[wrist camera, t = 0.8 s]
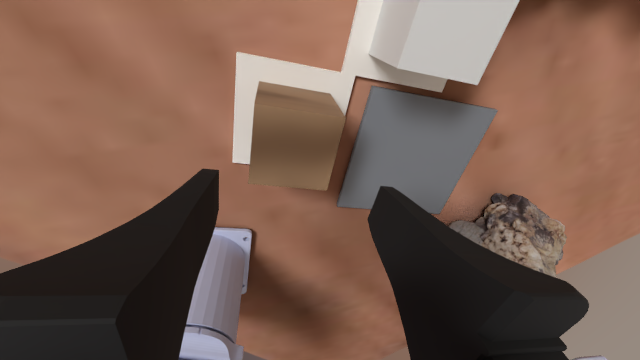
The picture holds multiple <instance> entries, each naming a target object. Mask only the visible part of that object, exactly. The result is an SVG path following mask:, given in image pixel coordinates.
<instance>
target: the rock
mask: <svg viewBox="0 0 640 360" xmlns="http://www.w3.org/2000/svg"><path fill="white" fill-rule="evenodd" d="M491 199H492V201H493V204H491V205H489V206H488V207H487V208H486V209H485V212H484V217H480V218H479V219H478V220H477V221H476V223H473V222H469V221H464V220H460V221H455V222H452V223H451V224H449V225H448V227H450V228H451V229H453V230H455V231H456V232H458V233H460V234H461V235H463V236H465V237H466V238H468V239H470V240H472V241H473V242H475V243H477V244H479V245H481V246H483V247H485V248H487V249H489V250H491V251H493V252H495V253H497V254H499V255H501V256H503V257H505V258H507V259H510V260H512V261H514V262H517V263H519V264H521V265H524V266H526V267H528V268H531V269H533V270H536V271H539V272H542V273H544V274H547V275H550V276H552V277H555V278H556V269H555V265H557V264H558V261H559V260H561V259H562V256H563V250H562V248H563V245H564V244H565V243H566V238H567V237H566V235H565V234H564V231H565V226H564V225H563V224H562V223H561V222H559V221H558V220H555V219H551V218H550V217H549V216H548V215H546V214H545V213H544V212H542V211H541V210H540V209H538V208H537V206H536V205H534V204H532V203H531V202H530V201H529V200H528V199H526V198H525V197H523V196H518V195H515V194H512V195H510V196H509V197H506V196H504V195H502V194H500V193H496V194H494V195H493V196H492V198H491Z"/></svg>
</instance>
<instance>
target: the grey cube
mask: <svg viewBox="0 0 640 360" xmlns="http://www.w3.org/2000/svg"><path fill="white" fill-rule="evenodd" d="M519 1H520V0H383V3H382V7H381V11H380V14H379V18H378V21H377V25H376V29H375V32H374V36H373V40H372V43H371V47H370V51H369V54H370V55H372V56H374V57H376V58H378V59H380V60H382V61H384V62H386V63H388V64H390V65H392V66H394V67H396V68H399V69H403V70H408V71H413V72H417V73H422V74H427V75H432V76H436V77H441V78H446V79H451V80H455V81H460V82H465V83H469V84H474V85H478V83H479V81H480V79H481V77H482V75H483V73H484V71H485V69H486V67H487V65H488V63H489V61H490V59H491V57H492V55H493V53H494V51H495V49H496V47H497V45H498V43H499V41H500V39H501V37H502V35H503V33H504V31H505V29H506V27H507V25H508V23H509V21H510V19H511V17H512V15H513V13H514V11H515V9H516V7H517V5H518V3H519Z"/></svg>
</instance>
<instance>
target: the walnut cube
mask: <svg viewBox="0 0 640 360" xmlns="http://www.w3.org/2000/svg"><path fill="white" fill-rule="evenodd" d="M345 120H346V117H345V115H344V114H343V112H342V111H341V109H340V108H339V106H338V105H337V103H336V102H335V100H334V99H333V97H332V95H331V94H330V93H324V92H318V91H313V90H307V89H301V88H296V87H290V86H284V85H279V84H273V83H267V82H262V81H259V83H258V88H257V93H256V98H255V103H254V114H253V128H252V141H251V154H250V167H249V180H248V184H256V185H268V186H279V187H291V188H302V189H314V190H325V191H327V188H328V184H329V181H330V177H331V173H332V169H333V165H334V162H335V158H336V154H337V150H338V146H339V143H340V139H341V135H342V131H343V128H344V124H345Z"/></svg>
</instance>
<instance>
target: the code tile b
mask: <svg viewBox="0 0 640 360" xmlns="http://www.w3.org/2000/svg"><path fill="white" fill-rule="evenodd" d="M382 3H383V0H358V1H357V6H356V10H355V14H354V19H353V23H352V27H351V32H350V36H349V40H348V44H347V49H346V53H345V57H344V62H343V66H342V70H341V73H345V74H350V75H355V76H360V77H365V78H370V79H375V80H380V81H385V82H390V83H396V84H401V85H406V86H411V87H416V88H421V89H426V90H431V91H436V92H441V93H442V91H443V89H444V86H445V84H446V82H447V79H446V78H441V77H436V76H432V75H427V74H422V73H417V72H413V71H408V70H403V69H399V68H396V67H394V66H392V65H390V64H388V63H386V62H384V61H382V60H380V59H378V58H376V57H374V56H372V55H370V54H369V51H370V47H371V43H372V40H373V36H374V32H375V29H376V25H377V21H378V18H379V14H380V11H381V7H382Z"/></svg>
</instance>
